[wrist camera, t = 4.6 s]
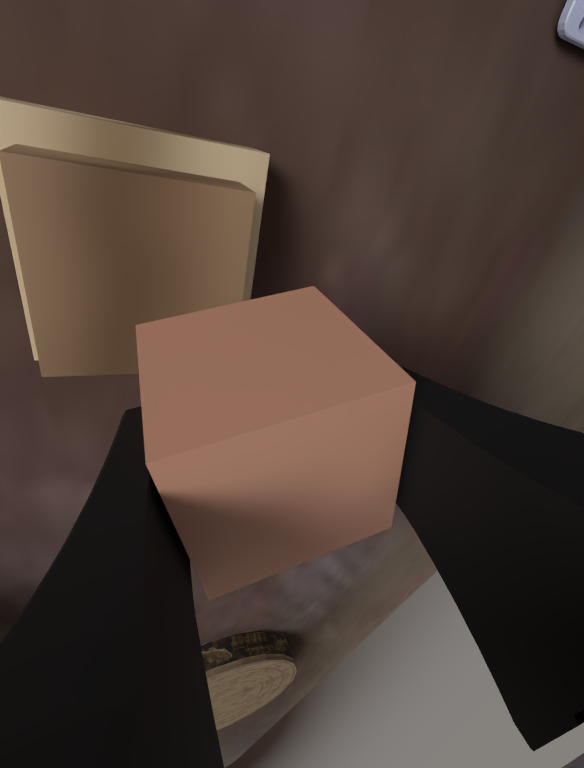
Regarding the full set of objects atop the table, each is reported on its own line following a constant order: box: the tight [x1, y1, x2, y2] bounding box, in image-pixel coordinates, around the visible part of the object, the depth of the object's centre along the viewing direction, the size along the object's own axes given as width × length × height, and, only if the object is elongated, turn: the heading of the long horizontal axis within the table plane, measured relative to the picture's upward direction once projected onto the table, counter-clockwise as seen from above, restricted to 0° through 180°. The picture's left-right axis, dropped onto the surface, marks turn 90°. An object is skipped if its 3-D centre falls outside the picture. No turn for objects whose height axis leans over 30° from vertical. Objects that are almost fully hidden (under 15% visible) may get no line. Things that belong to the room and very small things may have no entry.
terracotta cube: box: [135, 286, 416, 601], centre depth 9 cm, size 4×4×4 cm
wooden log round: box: [201, 630, 297, 730], centre depth 39 cm, size 16×16×3 cm
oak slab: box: [0, 97, 270, 360], centre depth 14 cm, size 8×8×2 cm
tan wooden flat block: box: [0, 144, 256, 377], centre depth 12 cm, size 6×6×2 cm
